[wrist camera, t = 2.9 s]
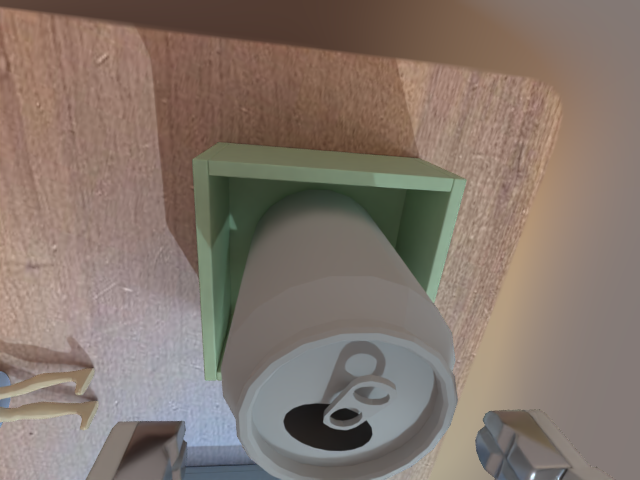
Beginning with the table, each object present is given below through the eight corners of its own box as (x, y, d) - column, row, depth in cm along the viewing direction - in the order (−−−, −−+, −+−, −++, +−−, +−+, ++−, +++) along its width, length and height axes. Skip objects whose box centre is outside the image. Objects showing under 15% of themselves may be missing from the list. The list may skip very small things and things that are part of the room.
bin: (420, 158, 19) (467, 179, 14) (387, 320, 23) (414, 379, 18) (217, 142, 17) (191, 158, 12) (222, 318, 22) (204, 381, 17)
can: (231, 269, 20) (163, 478, 9) (289, 160, 18) (295, 260, 7) (335, 314, 22) (385, 529, 11) (399, 222, 20) (540, 375, 9)
